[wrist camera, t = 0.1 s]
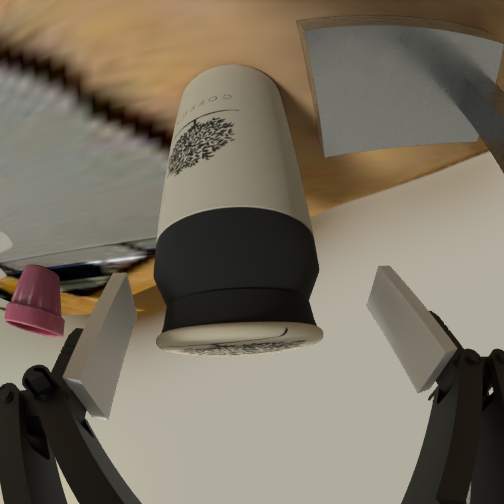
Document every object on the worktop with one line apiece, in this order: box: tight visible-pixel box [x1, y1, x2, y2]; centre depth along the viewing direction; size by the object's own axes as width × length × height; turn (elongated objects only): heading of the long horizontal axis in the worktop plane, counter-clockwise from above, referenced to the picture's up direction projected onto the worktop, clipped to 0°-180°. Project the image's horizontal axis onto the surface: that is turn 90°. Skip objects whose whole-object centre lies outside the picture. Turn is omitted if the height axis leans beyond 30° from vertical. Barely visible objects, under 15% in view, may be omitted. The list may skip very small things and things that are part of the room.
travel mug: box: [154, 64, 323, 356], centre depth 16 cm, size 8×8×18 cm
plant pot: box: [5, 265, 65, 337], centre depth 44 cm, size 14×14×13 cm
